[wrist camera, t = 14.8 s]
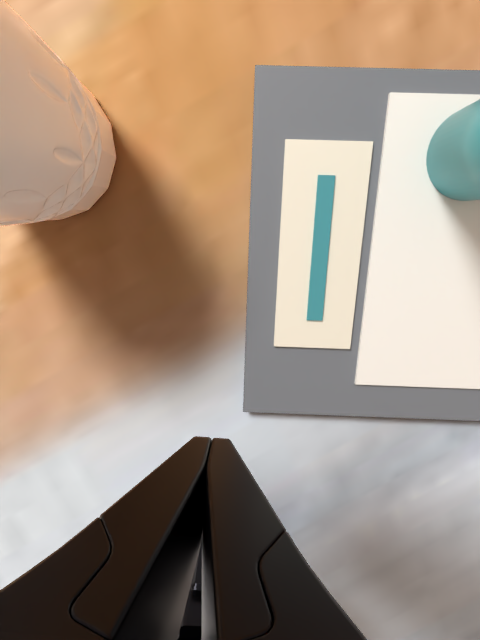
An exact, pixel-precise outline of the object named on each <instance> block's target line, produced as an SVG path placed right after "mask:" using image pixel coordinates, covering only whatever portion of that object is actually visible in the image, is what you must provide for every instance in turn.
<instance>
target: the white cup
mask: <svg viewBox="0 0 480 640" xmlns="http://www.w3.org/2000/svg"><path fill="white" fill-rule="evenodd" d="M115 162H116V152H115V145H114V139H113V133H112V127H111V123H110V121H109V120H108V118H107V117H106V115H105V113H104V112H103V110H102V108H101V107H100V105H99V104H98V102H97V100H96V99H95V97H94V96H93V94H92V93H91V92H90V91H89V90H88V89H87V88H86V87H85V86H84V85H83V84H82V83H81V82H80V81H79V80H78V79H77V78H76V76H75V75H74V74H73V73H72V71H71V70H70V69H69V68H68V67H67V65H66V64H65V63H64V62H63V61H62V60H61V58H60V57H59V56H58V55H57V54H56V53H55V52H54V51H53V50H52V49H51V48H50V47H49V46H48V45H47V44H46V43H45V41H44V40H43V39H42V38H41V37H40V36H39V35H38V34H37V33H36V32H35V31H34V30H33V29H32V27H31V26H30V25H29V24H28V23H27V22H26V21H25V20H24V19H23V18H22V17H21V16H20V15H19V14H18V13H17V12H16V11H15V10H14V9H13V8H12V7H11V6H10V5H9V4H8V3H7V2H6V1H5V0H0V227H2V226H10V225H19V224H29V223H35V222H41V221H45V220H62V219H65V218H68V217H70V216H73V215H76V214H79V213H82V212H85V211H87V210H89V209H90V208H91V207H92V206H93V205H94V204H95V203H96V201H97V200H98V199H99V198H100V197H101V196H102V195H103V194H104V193H105V191H106V190H107V189H108V188H109V184H110V180H111V177H112V173H113V169H114V165H115Z"/></svg>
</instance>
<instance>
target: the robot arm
mask: <svg viewBox="0 0 480 640" xmlns="http://www.w3.org/2000/svg"><path fill="white" fill-rule="evenodd" d="M0 640H367V639H366V638H365V637H364V635H363V634H362V633H361V632H360V630H359V629H358V628H357V627H356V625H355V624H354V623H353V622H352V620H351V619H350V618H349V617H348V615H347V614H346V613H345V612H344V610H343V609H342V608H341V607H340V605H339V604H338V603H337V602H336V600H335V599H334V598H333V597H332V595H331V594H330V593H329V591H328V590H327V589H326V588H325V586H324V585H323V584H322V582H321V581H320V580H319V578H318V577H317V576H316V574H315V573H314V572H313V570H312V569H311V568H310V566H309V565H308V563H307V562H306V560H305V559H304V557H303V556H302V554H301V553H300V551H299V550H298V548H297V547H296V545H295V543H294V542H293V540H292V539H291V537H290V535H289V534H288V533H287V532H286V529H285V528H284V526H283V524H282V523H281V521H280V519H279V518H278V516H277V515H276V513H275V511H274V510H273V508H272V507H271V505H270V503H269V502H268V500H267V499H266V497H265V495H264V494H263V492H262V490H261V489H260V487H259V486H258V484H257V482H256V481H255V479H254V478H253V476H252V474H251V473H250V471H249V470H248V468H247V466H246V465H245V463H244V461H243V460H242V458H241V457H240V455H239V453H238V452H237V450H236V449H235V447H234V445H233V444H232V442H231V441H230V440H229V439H224V438H214V439H212V440H211V438H209V437H197V436H196V437H193V438H192V439H191V440H190V441H189V442H187V443H186V444H185V445H184V446H183V447H181V448H180V449H179V450H178V451H177V452H175V453H174V454H173V455H172V456H171V457H169V458H168V459H167V460H166V461H165V462H163V463H162V464H161V465H160V466H159V467H157V468H156V469H155V470H154V471H153V472H151V473H150V474H149V475H148V476H147V477H145V478H144V479H143V480H142V481H141V482H140V483H138V484H137V485H136V486H135V487H134V488H132V489H131V490H130V491H129V492H128V493H126V494H125V495H124V496H123V497H122V498H120V499H119V500H118V501H117V502H116V503H114V504H113V505H112V506H111V507H110V508H108V509H107V510H106V511H105V512H104V513H102V514H101V515H100V518H96V519H95V520H94V521H93V522H92V523H90V524H89V525H88V526H87V527H86V528H84V529H83V530H82V531H81V532H79V533H78V534H77V535H76V536H74V537H73V538H72V539H71V540H69V541H68V542H67V543H66V544H64V545H63V546H62V547H60V548H59V549H58V550H56V551H55V552H54V553H52V554H51V555H50V556H48V557H47V558H45V559H44V560H43V561H41V562H40V563H39V564H37V565H36V566H34V567H33V568H32V569H30V570H29V571H27V572H26V573H24V574H23V575H22V576H20V577H19V578H17V579H16V580H14V581H13V582H12V583H10V584H9V585H7V586H6V587H4V588H3V589H1V590H0Z"/></svg>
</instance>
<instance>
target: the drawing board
mask: <svg viewBox="0 0 480 640" xmlns="http://www.w3.org/2000/svg"><path fill="white" fill-rule="evenodd" d="M479 99H480V70H439V69H396V68H354V67H311V66H269V65H255V87H254V116H253V144H252V173H251V202H250V230H249V259H248V287H247V316H246V345H245V373H244V402H243V412H260V413H286V414H312V415H338V416H364V417H390V418H416V419H442V420H468V421H480V200H470V201H459V200H454V199H450V198H448V197H446V196H444V195H443V194H441V193H440V192H439V191H438V190H437V189H436V188H435V187H434V185H433V184H432V182H431V180H430V178H429V175H428V172H427V166H426V157H427V150H428V146H429V143H430V141H431V139H432V137H433V135H434V133H435V131H436V130H437V128H438V127H439V126H440V125H441V124H442V123H443V122H444V121H445V120H446V119H447V118H448V117H449V116H451V115H452V114H454V113H456V112H457V111H459V110H461V109H463V108H464V107H466V106H468V105H470V104H472V103H474V102H475V101H477V100H479Z"/></svg>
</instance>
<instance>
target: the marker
mask: <svg viewBox="0 0 480 640" xmlns="http://www.w3.org/2000/svg"><path fill="white" fill-rule="evenodd" d="M426 166H427V172H428V175H429V178H430V180H431V182H432V184H433V185H434V187H435V188H436V189H437V190H438V191H439V192H440V193H441V194H443V195H444V196H446V197H448V198H450V199H454V200H459V201H470V200H480V99H479V100H477V101H475V102H474V103H472V104H470V105H468V106H466V107H464V108H463V109H461V110H459V111H457V112H456V113H454V114H452V115H451V116H449V117H448V118H447V119H446V120H445V121H444V122H443V123H442V124H441V125H440V126H439V127H438V128H437V130H436V131H435V133H434V135H433V137H432V139H431V141H430V143H429V146H428V150H427V157H426Z"/></svg>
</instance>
